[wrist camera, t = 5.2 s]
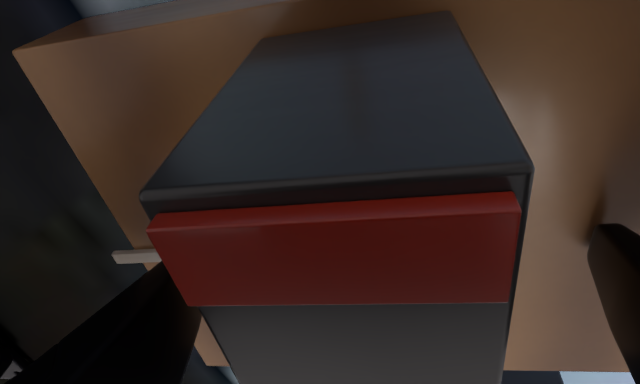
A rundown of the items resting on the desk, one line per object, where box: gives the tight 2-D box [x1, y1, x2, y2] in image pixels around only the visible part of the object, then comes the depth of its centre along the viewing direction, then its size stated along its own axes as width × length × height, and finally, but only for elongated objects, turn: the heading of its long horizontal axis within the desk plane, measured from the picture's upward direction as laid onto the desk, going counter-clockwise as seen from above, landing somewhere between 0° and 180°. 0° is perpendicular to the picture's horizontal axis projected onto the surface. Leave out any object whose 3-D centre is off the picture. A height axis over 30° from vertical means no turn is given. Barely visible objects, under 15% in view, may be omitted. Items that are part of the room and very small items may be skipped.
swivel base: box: [12, 0, 640, 372], centre depth 11 cm, size 14×14×3 cm
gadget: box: [139, 10, 535, 384], centre depth 8 cm, size 10×3×5 cm, turn 11°
